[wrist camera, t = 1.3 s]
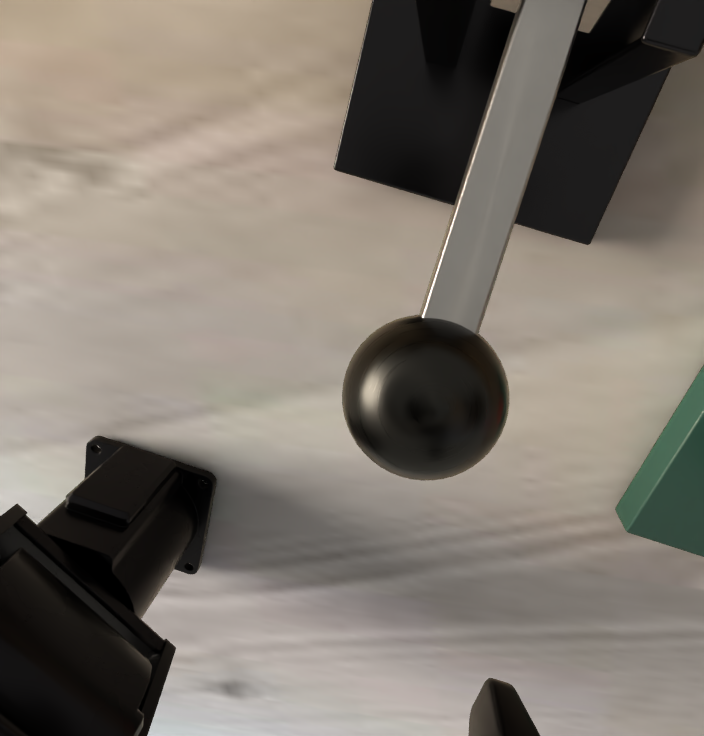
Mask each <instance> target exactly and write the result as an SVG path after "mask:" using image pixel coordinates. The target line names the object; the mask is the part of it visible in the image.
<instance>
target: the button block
mask: <svg viewBox="0 0 704 736" xmlns="http://www.w3.org/2000/svg"><path fill="white" fill-rule="evenodd" d="M615 510H616V512H617V514H618V516H619V518H620V520H621V522H622V524H623V526H624V528H625V530H626V531H627V532H628V533H631V534H634V535H638V536H641V537H644V538H647V539H650V540H653V541H656V542H659V543H662V544H666V545H669V546H672V547H675V548H678V549H681V550H684V551H687V552H690V553H693V554H697V555H700V556H703V557H704V366H703V367H702V369H701V370H700V372H699V374H698V375H697V377H696V379H695V380H694V382H693V383H692V385H691V387H690V388H689V390H688V392H687V393H686V395H685V396H684V398H683V400H682V401H681V403H680V405H679V406H678V408H677V409H676V411H675V413H674V414H673V416H672V418H671V419H670V421H669V422H668V424H667V426H666V427H665V429H664V430H663V432H662V434H661V435H660V437H659V439H658V440H657V442H656V443H655V445H654V447H653V448H652V450H651V452H650V453H649V455H648V456H647V458H646V460H645V461H644V463H643V465H642V466H641V468H640V469H639V471H638V473H637V474H636V476H635V478H634V479H633V481H632V482H631V484H630V486H629V487H628V489H627V491H626V492H625V494H624V495H623V497H622V499H621V500H620V502H619V503H618V505H617V507H616V509H615Z"/></svg>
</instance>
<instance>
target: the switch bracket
mask: <svg viewBox="0 0 704 736" xmlns="http://www.w3.org/2000/svg"><path fill="white" fill-rule="evenodd" d="M514 16H515V13H513V12H509V11H506V10H502V9H498V8H495V7H492V6H490V0H372V4H371V8H370V13H369V17H368V21H367V26H366V30H365V34H364V39H363V43H362V47H361V51H360V56H359V60H358V64H357V69H356V73H355V77H354V82H353V86H352V90H351V94H350V99H349V103H348V107H347V112H346V116H345V120H344V124H343V129H342V133H341V137H340V142H339V146H338V150H337V155H336V159H335V163H334V169H335V170H336V171H340V172H343V173H346V174H350V175H353V176H357V177H360V178H363V179H367V180H370V181H373V182H377V183H380V184H383V185H387V186H390V187H394V188H397V189H400V190H404V191H407V192H410V193H414V194H417V195H421V196H424V197H427V198H431V199H434V200H437V201H441V202H444V203H447V204H451V205H454V204H455V201H456V198H457V195H458V192H459V189H460V186H461V182H462V179H463V176H464V173H465V170H466V167H467V164H468V161H469V157H470V154H471V151H472V148H473V145H474V142H475V139H476V135H477V132H478V129H479V126H480V123H481V120H482V117H483V114H484V110H485V107H486V104H487V101H488V98H489V95H490V92H491V88H492V85H493V82H494V79H495V76H496V73H497V70H498V66H499V63H500V60H501V57H502V54H503V51H504V48H505V45H506V41H507V38H508V35H509V32H510V29H511V26H512V23H513V19H514ZM703 45H704V0H613V1H612V2H611V4H610V5H609V7H608V8H607V10H606V11H605V13H604V14H603V16H602V17H601V19H600V20H599V21H598V23H597V24H596V26H595V27H594V29H593V30H592V32H591V33H585V32H581V31H577V34H576V37H575V40H574V43H573V46H572V50H571V53H570V56H569V59H568V62H567V65H566V68H565V71H564V74H563V77H562V80H561V83H560V86H559V89H558V92H557V95H556V98H555V101H554V104H553V107H552V110H551V113H550V117H549V120H548V123H547V126H546V129H545V132H544V135H543V138H542V141H541V144H540V147H539V150H538V153H537V156H536V159H535V162H534V165H533V168H532V171H531V174H530V177H529V180H528V183H527V187H526V190H525V193H524V196H523V199H522V202H521V205H520V208H519V211H518V214H517V217H516V220H515V224H518V225H522V226H525V227H528V228H532V229H535V230H538V231H542V232H545V233H549V234H552V235H555V236H559V237H562V238H565V239H569V240H572V241H576V242H579V243H582V244H586V245H589V244H590V243H591V241H592V239H593V237H594V234H595V232H596V230H597V228H598V226H599V224H600V221H601V219H602V217H603V215H604V213H605V211H606V208H607V206H608V204H609V202H610V200H611V197H612V195H613V193H614V191H615V189H616V187H617V184H618V182H619V180H620V178H621V176H622V174H623V171H624V169H625V167H626V165H627V163H628V161H629V158H630V156H631V154H632V152H633V150H634V147H635V145H636V143H637V141H638V139H639V137H640V134H641V132H642V130H643V128H644V126H645V124H646V121H647V119H648V117H649V115H650V113H651V111H652V108H653V106H654V104H655V102H656V100H657V98H658V95H659V93H660V91H661V89H662V87H663V84H664V82H665V80H666V78H667V76H668V74H669V71H670V69H671V67H672V66H674V65H677V64H679V63H682V62H684V61H687V60H689V59H692V58H694V57H696V56H697V55H698V54H699V53H700V52H701V50H702V47H703Z"/></svg>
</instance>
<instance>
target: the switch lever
mask: <svg viewBox="0 0 704 736" xmlns="http://www.w3.org/2000/svg"><path fill="white" fill-rule="evenodd" d="M612 1H613V0H490V6H492V7H495V8H498V9H502V10H506V11H509V12H513V13H515V16H514V19H513V23H512V26H511V29H510V32H509V35H508V38H507V41H506V45H505V48H504V51H503V54H502V57H501V60H500V63H499V66H498V70H497V73H496V76H495V79H494V82H493V85H492V88H491V92H490V95H489V98H488V101H487V104H486V107H485V110H484V114H483V117H482V120H481V123H480V126H479V129H478V132H477V135H476V139H475V142H474V145H473V148H472V151H471V154H470V157H469V161H468V164H467V167H466V170H465V173H464V176H463V179H462V182H461V186H460V189H459V192H458V195H457V198H456V201H455V204H454V208H453V211H452V214H451V217H450V220H449V223H448V226H447V229H446V233H445V236H444V239H443V242H442V245H441V248H440V251H439V255H438V258H437V261H436V264H435V267H434V270H433V273H432V277H431V280H430V283H429V286H428V289H427V292H426V295H425V298H424V302H423V305H422V308H421V311H420V314H419V315H414V316H408V317H404V318H400V319H397V320H394V321H392V322H390V323H388V324H386V325H384V326H382V327H381V328H379V329H377V330H376V331H375V332H374V333H372V334H371V335H370V336H369V337H368V338H367V339H366V340H365V341H364V342H363V343H362V344H361V345H360V347H359V348H358V349H357V351H356V352H355V354H354V356H353V357H352V359H351V361H350V363H349V366H348V368H347V371H346V374H345V378H344V383H343V392H342V404H343V411H344V416H345V420H346V423H347V426H348V428H349V431H350V433H351V435H352V437H353V438H354V440H355V442H356V443H357V445H358V446H359V447H360V449H361V450H362V451H363V452H364V453H365V454H366V455H367V456H368V457H369V458H370V459H371V460H372V461H373V462H375V463H376V464H377V465H379V466H380V467H382V468H383V469H385V470H387V471H389V472H391V473H393V474H396V475H398V476H401V477H405V478H409V479H414V480H438V479H444V478H448V477H452V476H455V475H457V474H460V473H462V472H464V471H466V470H468V469H469V468H471V467H473V466H474V465H475V464H477V463H478V462H479V461H481V460H482V459H483V458H484V457H485V456H486V455H487V454H488V453H489V452H490V450H491V449H492V448H493V447H494V445H495V444H496V442H497V441H498V439H499V437H500V435H501V433H502V431H503V428H504V426H505V423H506V419H507V416H508V409H509V388H508V381H507V378H506V374H505V371H504V368H503V366H502V364H501V361H500V359H499V358H498V356H497V354H496V353H495V351H494V350H493V348H492V347H491V346H490V345H489V343H488V342H487V341H486V340H485V339H484V338H483V337H482V336H481V335H480V334H478V333H479V330H480V327H481V324H482V320H483V317H484V314H485V311H486V308H487V305H488V302H489V299H490V296H491V293H492V290H493V287H494V284H495V281H496V278H497V275H498V272H499V269H500V266H501V263H502V260H503V257H504V253H505V250H506V247H507V244H508V241H509V238H510V235H511V232H512V229H513V226H514V223H515V220H516V217H517V214H518V211H519V208H520V205H521V202H522V199H523V196H524V193H525V190H526V187H527V183H528V180H529V177H530V174H531V171H532V168H533V165H534V162H535V159H536V156H537V153H538V150H539V147H540V144H541V141H542V138H543V135H544V132H545V129H546V126H547V123H548V120H549V117H550V113H551V110H552V107H553V104H554V101H555V98H556V95H557V92H558V89H559V86H560V83H561V80H562V77H563V74H564V71H565V68H566V65H567V62H568V59H569V56H570V53H571V50H572V46H573V43H574V40H575V37H576V34H577V31H581V32H585V33H591V32H592V30H593V29H594V27H595V26H596V24H597V23H598V21H599V20H600V19H601V17H602V16H603V14H604V13H605V11H606V10H607V8H608V7H609V5H610V4H611V2H612Z"/></svg>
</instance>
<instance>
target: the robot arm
mask: <svg viewBox="0 0 704 736" xmlns="http://www.w3.org/2000/svg"><path fill="white" fill-rule="evenodd" d="M97 445H98V446H99V447H100V448H101V449H100V448H98V446H97ZM202 480H205V481H206V482H207V483H208V484H206V483H204V482H203V481H202ZM215 488H216V478H215V476H214V475H213V474H212V473H210V472H208V471H205V470H202V469H199V468H196V467H193V466H190V465H187V464H184V463H181V462H178V461H175V460H172V459H169V458H166V457H163V456H160V455H157V454H154V453H151V452H148V451H145V450H142V449H139V448H136V447H133V446H130V445H127V444H123V443H120V442H117V441H114V440H111V439H108V438H105V437H102V436H95V437H94V438H93V439H91V440H90V441H89V442H88V443H87V446H86V466H85V479H84V480H83V481H82V482H81V483H80V484H79V485H78V486H76V487H75V488H74V489H73V490H72V491H71V492H70V493H69V494H67V496H66V499H65V500H64V501H63V502H62V503H61V504H59V505H58V506H57V507H56V508H55V509H54V510H53V511H52V512H51V513H49V514H48V515H47V516H46V517H45V518H44V519H43V520H42V521H41V522H39V523H38V524H37V525H36V524H35V523H34V522H33V521H32V520H31V519H30V518H29V517H28V516H26V514H27V512H26V511H25V510H24V509H23V508H22V507H21V506H19V505H18V504H16V505H14V506H13V507H12V508H11V509H9V510H8V511H7V512H6V513H4V514H3V515H2V516H0V736H147V734H148V732H149V729H150V726H151V723H152V720H153V717H154V714H155V711H156V708H157V705H158V701H159V698H160V695H161V692H162V689H163V686H164V683H165V680H166V677H167V674H168V671H169V668H170V665H171V662H172V659H173V656H174V653H175V650H176V647H175V646H174V645H173V644H171V643H170V642H169V641H168V640H167V639H165V640H163V639H162V638H161V637H160V636H159V635H158V634H157V633H156V632H154V631H153V630H152V629H151V628H150V627H149V626H148V625H147V624H146V623H145V622H143V621H142V620H141V618H142V617H143V615H144V614H145V612H146V611H147V609H148V608H149V606H150V605H151V603H152V601H153V600H154V598H155V597H156V595H157V594H158V592H159V591H160V589H161V588H162V586H163V585H164V583H165V582H166V580H167V579H168V577H169V576H170V574H171V573H172V571H173V569H175V570H178V571H181V572H184V573H187V574H195V573H196V572H197V571H198V569H199V568H200V566H201V563H202V557H203V552H204V547H205V541H206V536H207V531H208V525H209V520H210V515H211V509H212V504H213V499H214V493H215ZM189 563H190V564H189ZM191 564H192V565H191ZM469 736H540V734H539V733H538V731H537V729H536V727H535V725H534V723H533V721H532V720H531V718H530V716H529V714H528V712H527V710H526V708H525V707H524V705H523V703H522V701H521V699H520V697H519V695H518V694H517V692H516V690H515V688H514V687H513V686H512V685H511V684H509V683H506V682H503V681H500V680H497V679H493V678H489V679H487V680H486V681H485V683H484V685H483V687H482V689H481V691H480V693H479V694H478V696H477V698H476V700H475V702H474V704H473V706H472V709H471V713H470V719H469Z"/></svg>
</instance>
